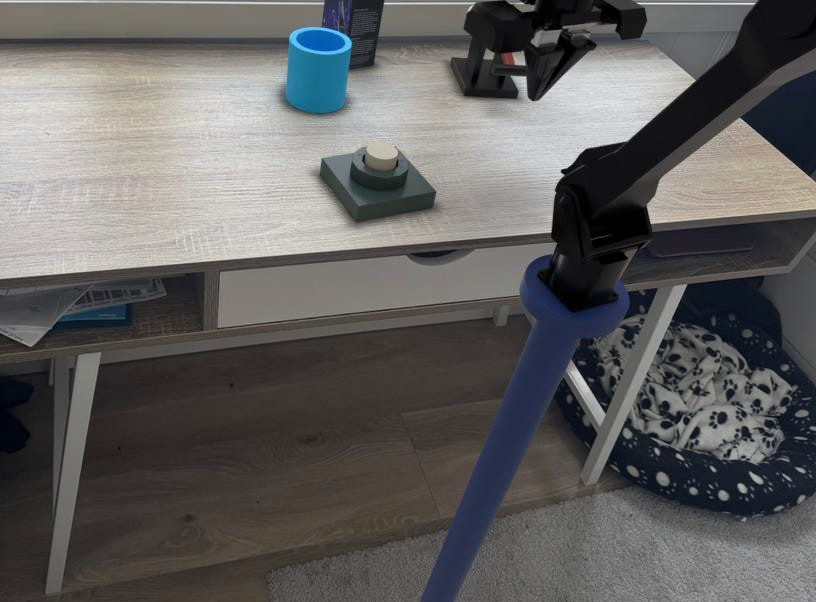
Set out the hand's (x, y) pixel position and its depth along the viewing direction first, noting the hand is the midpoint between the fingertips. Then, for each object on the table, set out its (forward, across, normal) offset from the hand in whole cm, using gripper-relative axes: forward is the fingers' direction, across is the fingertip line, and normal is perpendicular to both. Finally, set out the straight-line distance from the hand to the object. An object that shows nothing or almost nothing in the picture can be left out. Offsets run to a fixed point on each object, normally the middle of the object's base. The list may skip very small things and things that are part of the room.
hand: (532, 99), depth 79 cm
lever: (+6, -14, -23) cm, 27 cm away
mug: (+13, +12, -30) cm, 35 cm away
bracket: (+13, -15, -27) cm, 34 cm away
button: (+9, +14, -6) cm, 18 cm away
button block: (+13, +14, -6) cm, 20 cm away
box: (+13, +2, -39) cm, 41 cm away
